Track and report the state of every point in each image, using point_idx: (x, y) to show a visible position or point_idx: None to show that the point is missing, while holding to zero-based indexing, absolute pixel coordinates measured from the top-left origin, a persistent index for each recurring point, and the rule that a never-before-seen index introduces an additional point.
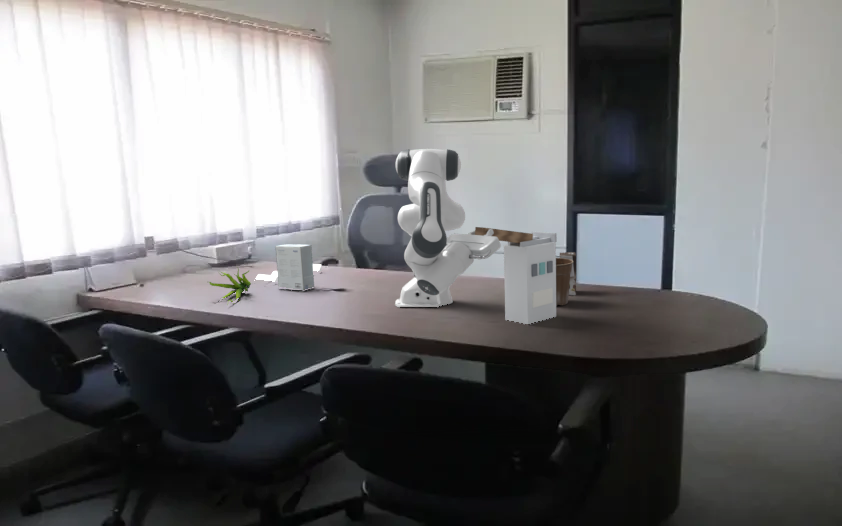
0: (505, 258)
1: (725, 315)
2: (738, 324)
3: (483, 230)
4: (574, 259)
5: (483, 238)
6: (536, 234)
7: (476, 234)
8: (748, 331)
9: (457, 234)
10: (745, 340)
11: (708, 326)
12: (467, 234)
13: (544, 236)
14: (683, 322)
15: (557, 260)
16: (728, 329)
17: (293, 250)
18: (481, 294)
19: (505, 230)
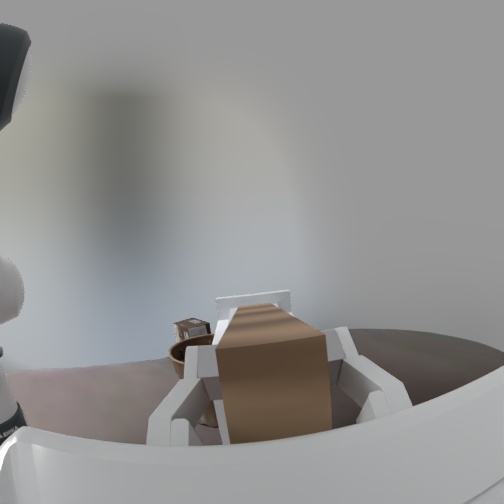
0: (221, 404)
1: (407, 340)
2: (443, 342)
3: (326, 361)
4: (208, 329)
5: (463, 433)
6: (231, 303)
7: (248, 413)
8: (468, 344)
9: (56, 451)
10: (497, 351)
11: (443, 357)
12: (177, 452)
13: (258, 303)
14: (420, 365)
15: (200, 340)
16: (458, 350)
17: None
18: (83, 420)
19: (285, 312)
